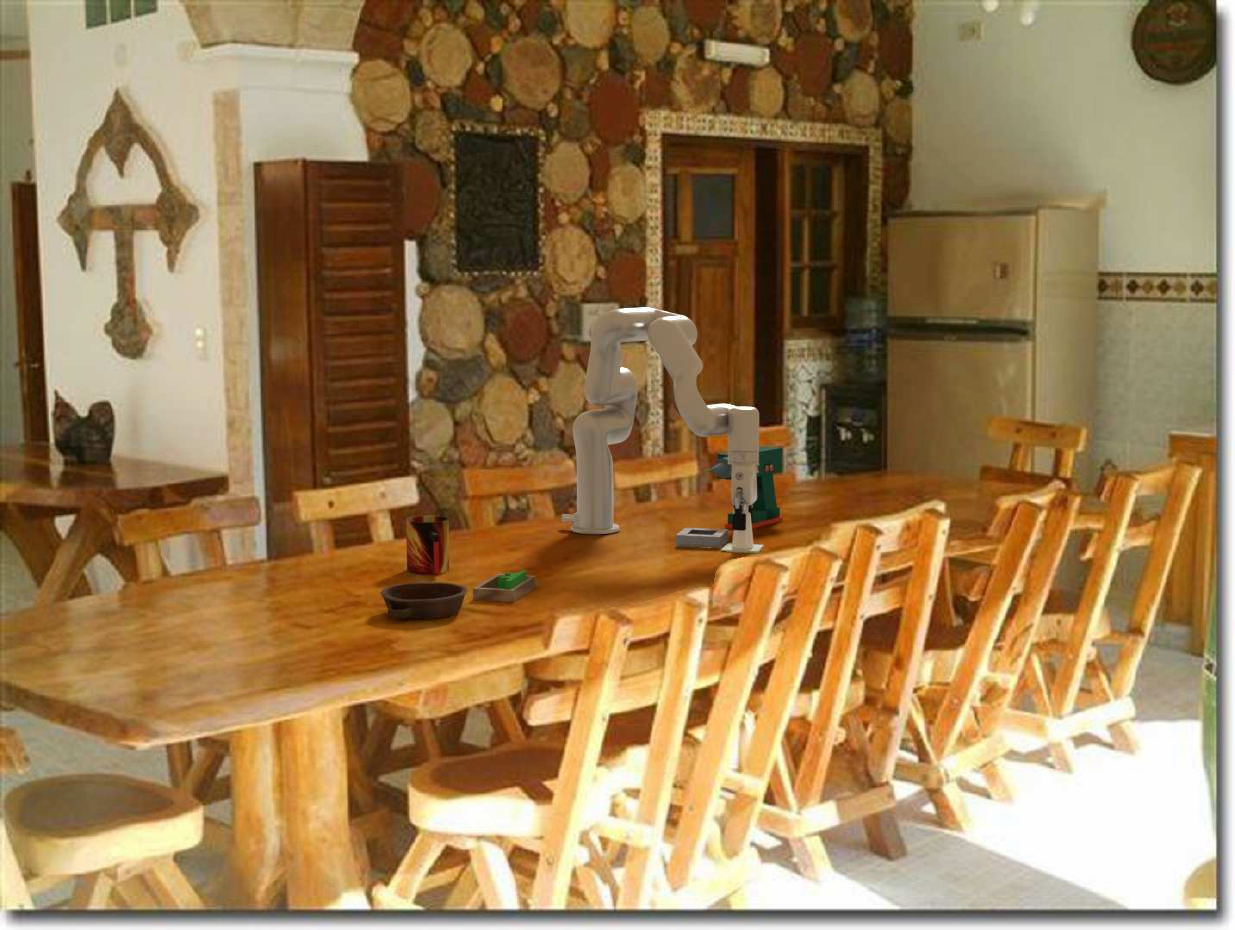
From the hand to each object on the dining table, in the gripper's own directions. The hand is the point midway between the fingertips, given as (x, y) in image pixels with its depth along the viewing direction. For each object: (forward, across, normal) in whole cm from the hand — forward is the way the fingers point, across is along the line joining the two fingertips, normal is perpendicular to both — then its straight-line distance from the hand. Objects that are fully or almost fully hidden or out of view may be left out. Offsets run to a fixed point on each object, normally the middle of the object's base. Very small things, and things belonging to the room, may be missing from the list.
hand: (742, 526), depth 410 cm
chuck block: (+6, +4, +11) cm, 13 cm away
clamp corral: (+6, -64, +40) cm, 76 cm away
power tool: (+6, +31, +6) cm, 32 cm away
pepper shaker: (+5, 0, 0) cm, 5 cm away
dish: (+6, -86, +50) cm, 100 cm away
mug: (+6, -45, +64) cm, 78 cm away
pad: (+6, 0, 0) cm, 6 cm away
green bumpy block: (+6, -65, +38) cm, 76 cm away
